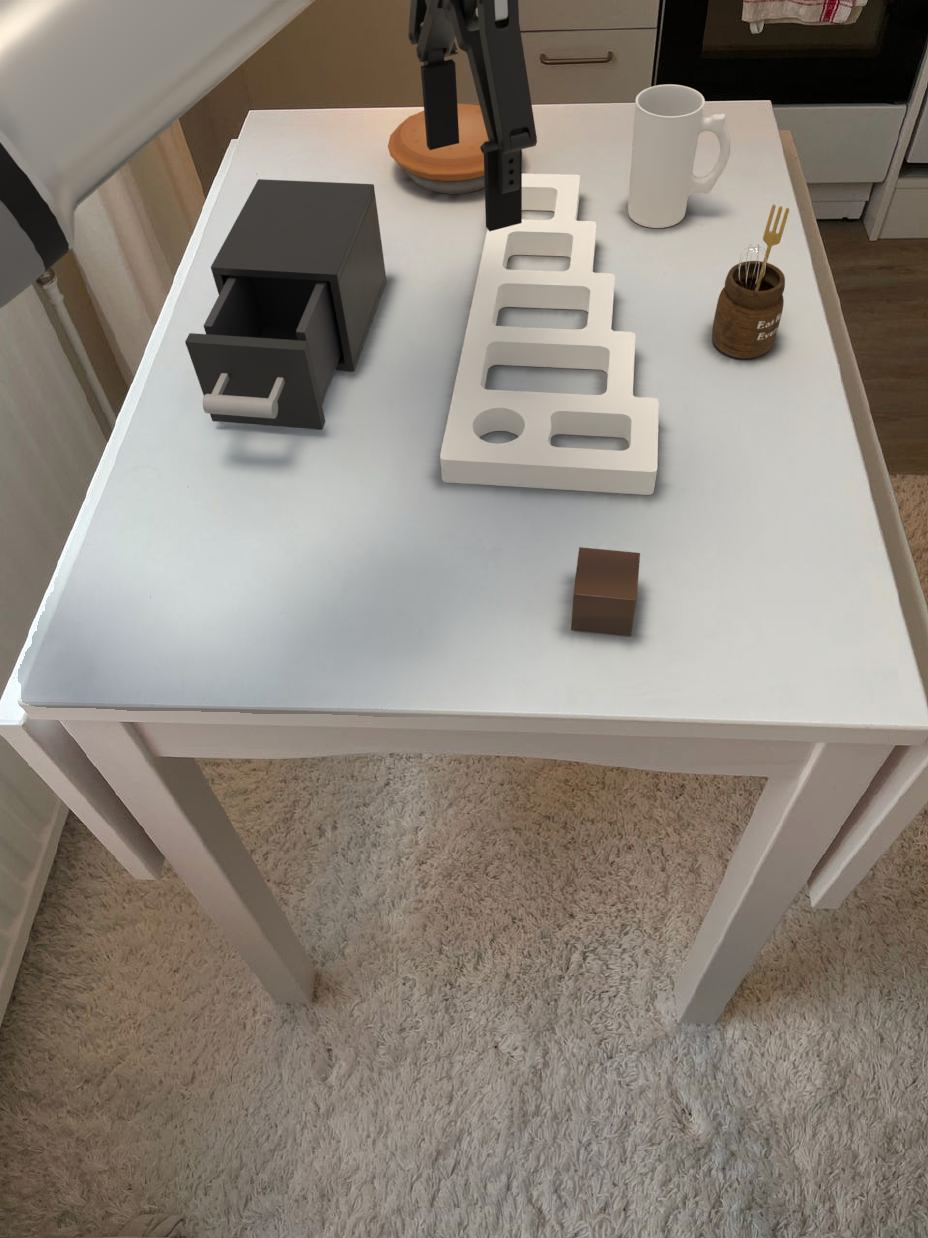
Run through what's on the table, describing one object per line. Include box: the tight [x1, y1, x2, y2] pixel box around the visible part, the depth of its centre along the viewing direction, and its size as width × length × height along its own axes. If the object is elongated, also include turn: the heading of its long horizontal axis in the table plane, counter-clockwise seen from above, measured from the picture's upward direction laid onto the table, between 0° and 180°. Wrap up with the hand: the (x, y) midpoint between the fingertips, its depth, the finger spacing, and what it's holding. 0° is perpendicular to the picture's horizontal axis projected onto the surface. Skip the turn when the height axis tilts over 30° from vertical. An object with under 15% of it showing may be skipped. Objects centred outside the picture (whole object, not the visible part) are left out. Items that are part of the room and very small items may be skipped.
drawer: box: [184, 276, 343, 431], centre depth 85 cm, size 18×10×9 cm, turn 170°
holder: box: [439, 172, 660, 496], centre depth 93 cm, size 45×18×3 cm, turn 172°
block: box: [570, 546, 641, 637], centre depth 71 cm, size 4×4×4 cm
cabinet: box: [210, 178, 387, 372], centre depth 92 cm, size 15×12×11 cm
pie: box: [387, 103, 489, 195], centre depth 110 cm, size 16×16×5 cm
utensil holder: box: [711, 204, 790, 359], centre depth 86 cm, size 6×6×12 cm
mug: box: [627, 83, 731, 229], centre depth 99 cm, size 10×7×12 cm, turn 76°
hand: (472, 183), depth 78 cm, fingers open, 13 cm apart
